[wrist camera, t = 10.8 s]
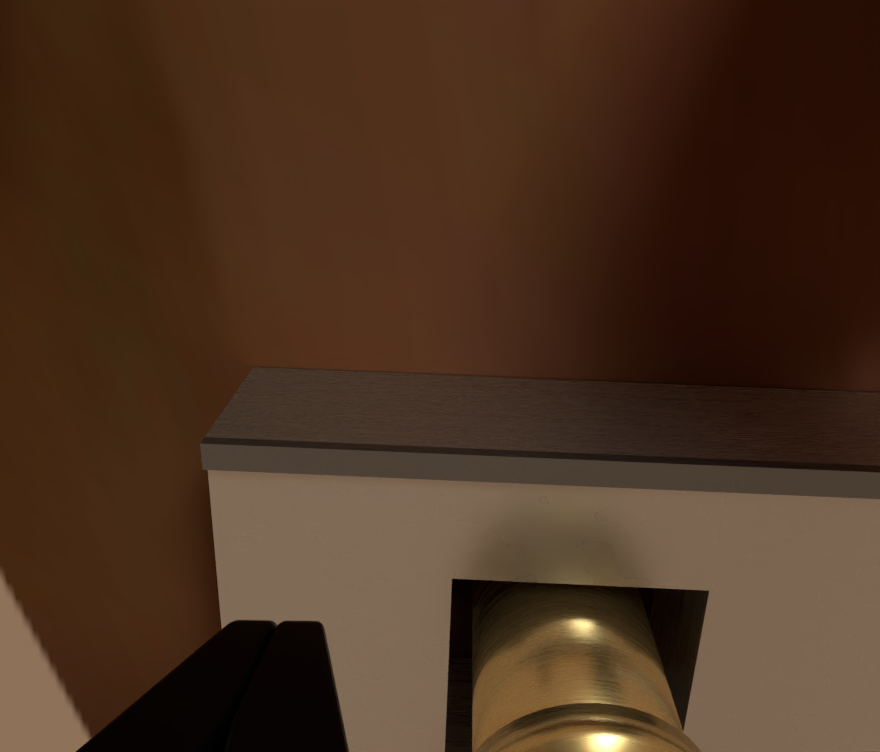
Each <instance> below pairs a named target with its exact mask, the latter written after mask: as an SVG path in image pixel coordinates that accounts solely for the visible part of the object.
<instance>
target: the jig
mask: <svg viewBox="0 0 880 752" xmlns="http://www.w3.org/2000/svg"><path fill="white" fill-rule="evenodd" d="M200 446H201V457H202V468H203V470H208V479H209V490H210V502H211V513H212V525H213V536H214V547H215V559H216V570H217V582H218V593H219V605H220V616H221V627H222V628H224V627H225V626H226V625H227V624H229V623H230V622H232V621H235V620H271V621H274V622H275V623H276V624H277V625H278V624H279V623H281V622H283V621H286V620H292V621H319V622H321V623H322V624H323V626H324V629H325V633H326V638H327V643H328V648H329V653H330V658H331V663H332V668H333V673H334V678H335V683H336V688H337V693H338V698H339V703H340V708H341V713H342V718H343V723H344V728H345V733H346V738H347V743H348V748H349V752H472V658H465V657H449V639H450V615H451V591H452V579H470V580H491V581H513V582H535V583H556V584H578V585H600V586H621V587H643V588H654V590H653V596H652V603H651V609H650V616H649V624H650V627H651V630H652V634H653V637H654V640H655V643H656V646H657V650H658V653H659V656H660V659H661V662H662V666H663V669H664V672H665V675H666V678H667V682H668V685H669V688H670V691H671V694H672V698H673V701H674V704H675V707H676V710H677V714H678V717H679V720H680V723H681V726H682V730H683V733H684V734H685V735H686V736H688V737H689V738H690V739H691V740H692V741H693V742H694V743H695V744H696V746H697V747H698V748H699V749H700V750H701V752H880V393H876V392H852V391H827V390H802V389H777V388H753V387H728V386H703V385H678V384H654V383H629V382H604V381H579V380H555V379H530V378H505V377H481V376H456V375H431V374H406V373H382V372H357V371H332V370H307V369H283V368H258V367H254V368H253V369H252V370H251V372H250V373H249V375H248V376H247V378H246V379H245V380H244V382H243V383H242V385H241V386H240V388H239V389H238V390H237V392H236V393H235V395H234V396H233V398H232V399H231V400H230V402H229V403H228V405H227V406H226V408H225V409H224V410H223V412H222V413H221V415H220V416H219V418H218V419H217V420H216V422H215V423H214V425H213V426H212V428H211V429H210V430H209V432H208V433H207V435H206V436H205V438H204V439H203V440H202V442H201V443H200Z"/></svg>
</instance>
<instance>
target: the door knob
mask: <svg viewBox="0 0 880 752" xmlns="http://www.w3.org/2000/svg"><path fill="white" fill-rule="evenodd" d="M472 752H701V750H700V749H699V748H698V747H697V746H696V744H695V743H694V742H693V741H692V740H691V739H690V738H689V737H688V736H686V735H685V734H684V733H683V730H682V726H681V723H680V720H679V717H678V714H677V710H676V707H675V704H674V701H673V698H672V694H671V691H670V688H669V685H668V682H667V678H666V675H665V672H664V669H663V666H662V662H661V659H660V656H659V653H658V650H657V646H656V643H655V640H654V637H653V634H652V630H651V627H650V624H649V621H648V618H647V614H646V611H645V608H644V605H643V602H642V598H641V595H640V592H639V589H638V587H621V586H600V585H578V584H556V583H535V582H513V581H491V580H472Z"/></svg>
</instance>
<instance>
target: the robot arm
mask: <svg viewBox="0 0 880 752" xmlns="http://www.w3.org/2000/svg"><path fill="white" fill-rule="evenodd" d="M76 752H349V748H348V743H347V738H346V733H345V728H344V723H343V718H342V713H341V708H340V703H339V698H338V693H337V688H336V683H335V678H334V673H333V668H332V663H331V658H330V653H329V648H328V643H327V638H326V633H325V629H324V626H323V624H322V623H321V622H319V621H292V620H286V621H283V622H281V623H279V624H278V625H277V624H276V623H275V622H274V621H271V620H235V621H232V622H230V623H229V624H227V625H226V626H225V627H224V628H222V629H221V630H220V631H219V632H218V633H217V634H215V635H214V636H213V637H212V638H211V639H209V640H208V641H207V642H206V643H205V644H203V645H202V646H201V647H200V648H199V649H197V650H196V651H195V652H194V653H193V654H192V655H190V656H189V657H188V658H187V659H186V660H184V661H183V662H182V663H181V664H180V665H178V666H177V667H176V668H175V669H174V670H172V671H171V672H170V673H169V674H168V675H167V676H165V677H164V678H163V679H162V680H161V681H159V682H158V683H157V684H156V685H155V686H153V687H152V688H151V689H150V690H149V691H147V692H146V693H145V694H144V695H143V696H142V697H140V698H139V699H138V700H137V701H136V702H134V703H133V704H132V705H131V706H130V707H128V708H127V709H126V710H125V711H124V712H122V713H121V714H120V715H119V716H118V717H117V718H115V719H114V720H113V721H112V722H111V723H109V724H108V725H107V726H106V727H105V728H103V729H102V730H101V731H100V732H99V733H97V734H96V735H95V736H94V737H93V738H92V739H90V740H89V741H88V742H87V743H86V744H84V745H83V746H82V747H81V748H80V749H78V750H77V751H76Z"/></svg>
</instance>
